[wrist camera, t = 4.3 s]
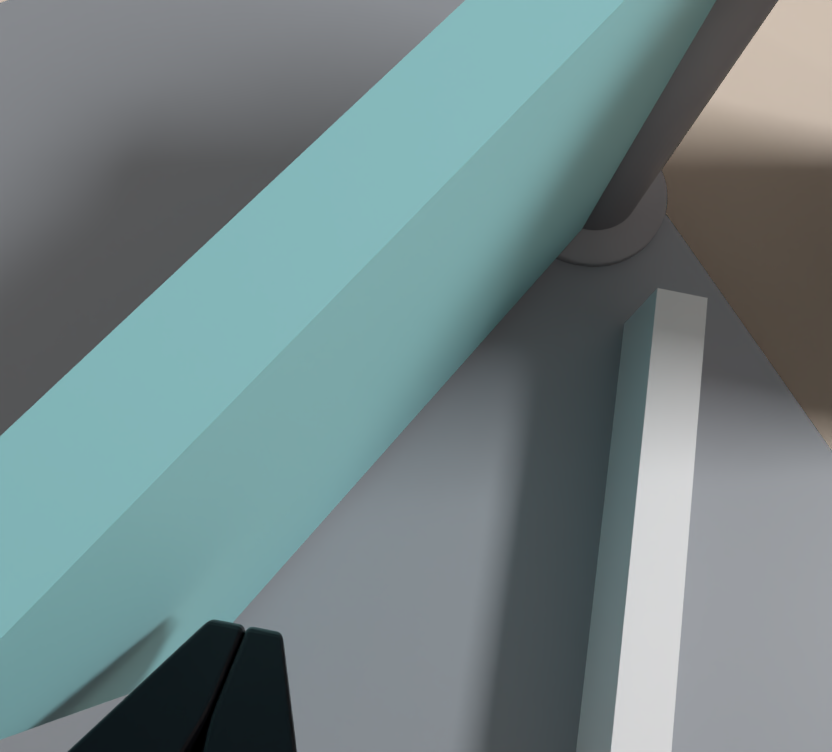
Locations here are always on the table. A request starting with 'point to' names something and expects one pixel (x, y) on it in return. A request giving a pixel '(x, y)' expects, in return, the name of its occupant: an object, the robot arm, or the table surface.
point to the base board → (442, 416)
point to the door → (326, 327)
